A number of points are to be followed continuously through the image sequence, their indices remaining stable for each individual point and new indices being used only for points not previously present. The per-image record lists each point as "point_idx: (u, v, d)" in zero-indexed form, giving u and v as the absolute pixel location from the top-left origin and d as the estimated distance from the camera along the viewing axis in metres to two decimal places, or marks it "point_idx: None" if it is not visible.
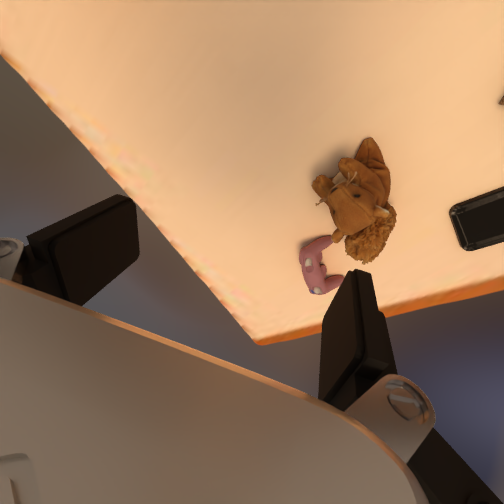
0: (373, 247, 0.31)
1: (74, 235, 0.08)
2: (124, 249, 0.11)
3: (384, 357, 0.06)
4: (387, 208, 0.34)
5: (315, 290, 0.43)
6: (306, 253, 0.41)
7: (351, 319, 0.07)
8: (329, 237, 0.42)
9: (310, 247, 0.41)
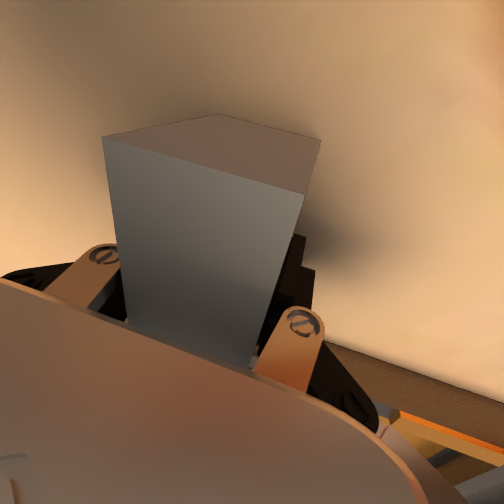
0: None
1: None
2: None
3: (292, 292, 0.07)
4: None
5: None
6: None
7: None
8: None
9: None
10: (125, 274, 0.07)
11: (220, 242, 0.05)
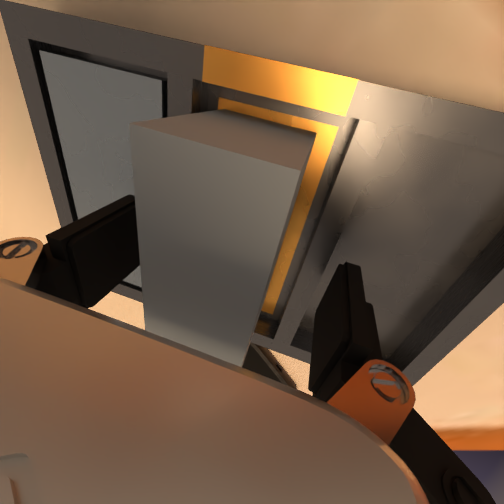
0: None
1: (90, 234, 0.08)
2: (136, 248, 0.11)
3: (368, 343, 0.06)
4: None
5: None
6: None
7: (339, 309, 0.08)
8: None
9: None
10: (142, 248, 0.08)
11: (228, 215, 0.06)
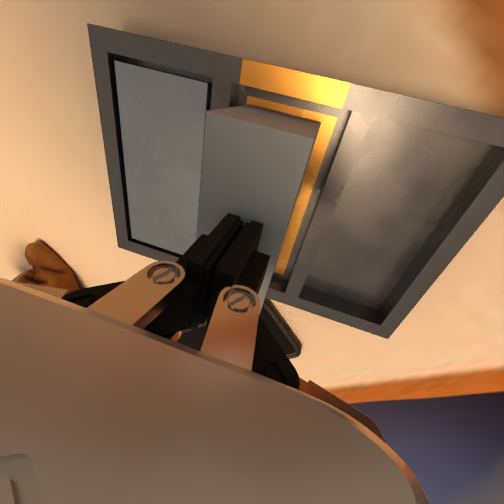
0: None
1: (217, 256, 0.09)
2: None
3: (233, 272, 0.08)
4: None
5: None
6: None
7: None
8: None
9: None
10: (202, 199, 0.11)
11: (265, 171, 0.10)
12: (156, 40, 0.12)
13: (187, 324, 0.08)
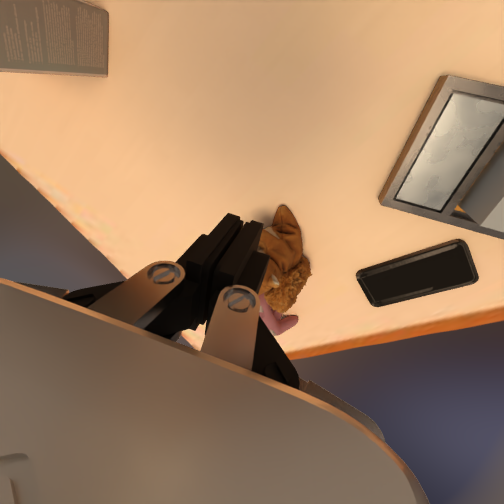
0: (280, 303, 0.36)
1: (216, 256, 0.09)
2: None
3: (233, 272, 0.08)
4: (298, 266, 0.39)
5: None
6: None
7: None
8: None
9: (261, 295, 0.45)
10: None
11: None
12: (490, 84, 0.24)
13: (187, 324, 0.08)
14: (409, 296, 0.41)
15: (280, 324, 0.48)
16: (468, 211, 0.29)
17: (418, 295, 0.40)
